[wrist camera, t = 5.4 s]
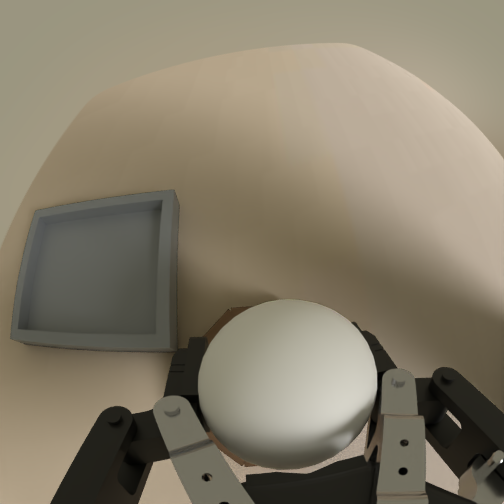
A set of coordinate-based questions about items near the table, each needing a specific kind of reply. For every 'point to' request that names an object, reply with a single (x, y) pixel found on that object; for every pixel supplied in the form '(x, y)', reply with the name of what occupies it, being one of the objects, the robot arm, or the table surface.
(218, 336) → the lightbulb
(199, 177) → the table surface
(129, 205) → the tray
